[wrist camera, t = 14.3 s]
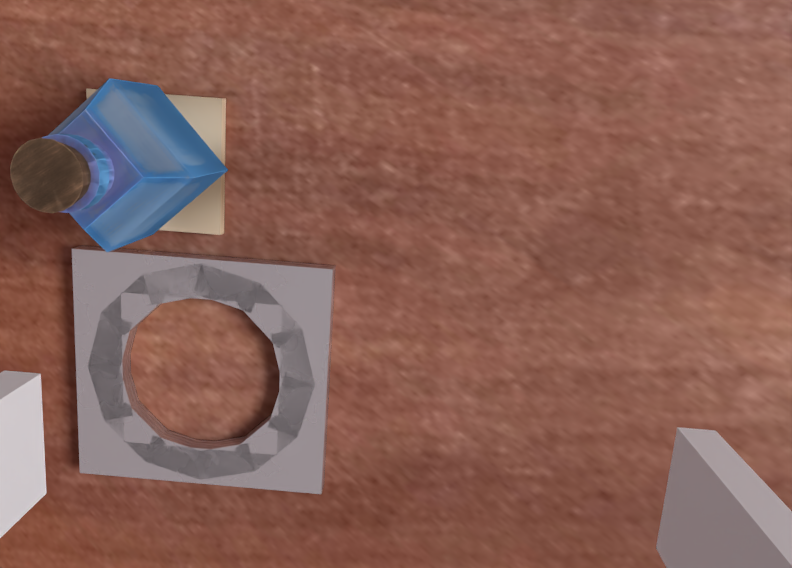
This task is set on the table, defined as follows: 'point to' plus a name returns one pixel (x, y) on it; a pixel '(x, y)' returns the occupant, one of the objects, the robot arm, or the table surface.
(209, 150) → the perfume bottle
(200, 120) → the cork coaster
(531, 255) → the table surface
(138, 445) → the eye plate
